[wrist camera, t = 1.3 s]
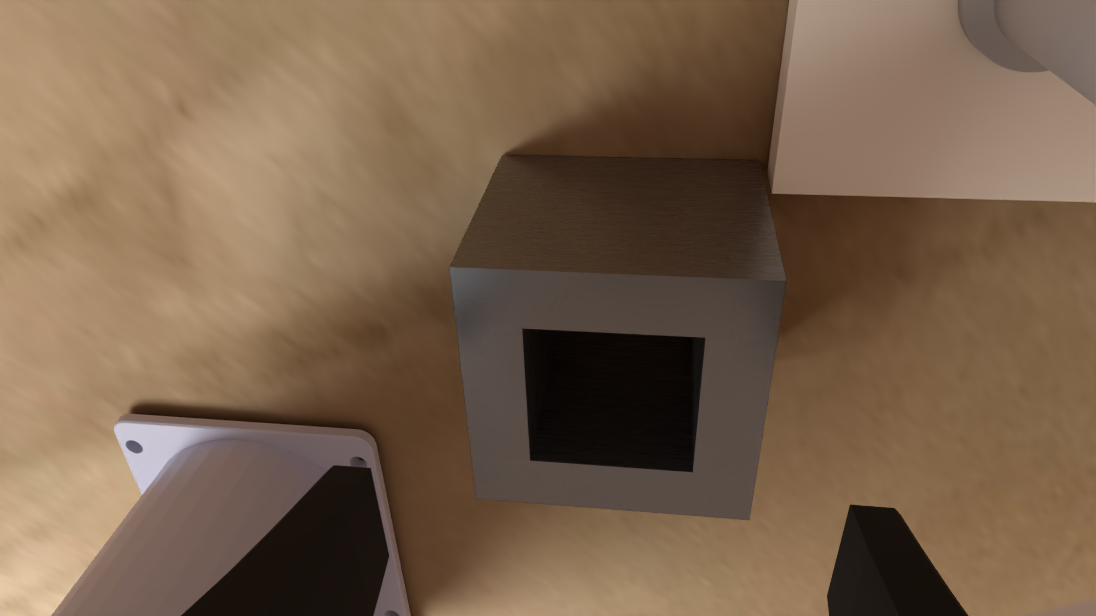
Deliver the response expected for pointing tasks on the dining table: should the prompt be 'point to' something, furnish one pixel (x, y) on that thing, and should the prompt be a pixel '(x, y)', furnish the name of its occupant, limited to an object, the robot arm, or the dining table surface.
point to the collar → (619, 332)
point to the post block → (937, 100)
